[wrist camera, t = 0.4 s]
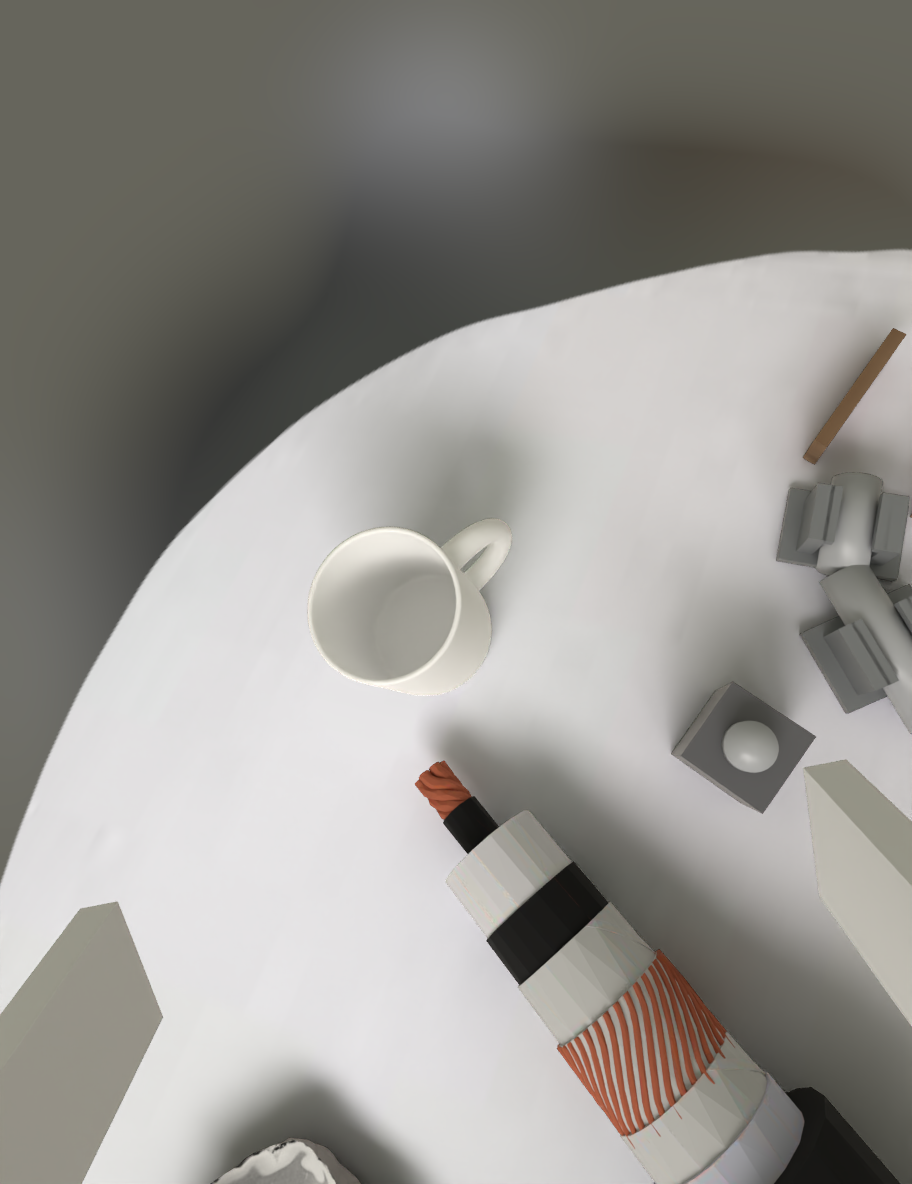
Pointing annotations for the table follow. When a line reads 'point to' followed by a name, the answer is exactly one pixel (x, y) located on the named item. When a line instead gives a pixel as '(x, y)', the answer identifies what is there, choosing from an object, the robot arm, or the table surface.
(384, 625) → the mug
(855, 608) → the clip
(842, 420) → the end holder
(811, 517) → the clip
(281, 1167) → the brain slice
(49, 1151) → the robot arm
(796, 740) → the block
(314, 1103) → the table surface
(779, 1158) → the cable
